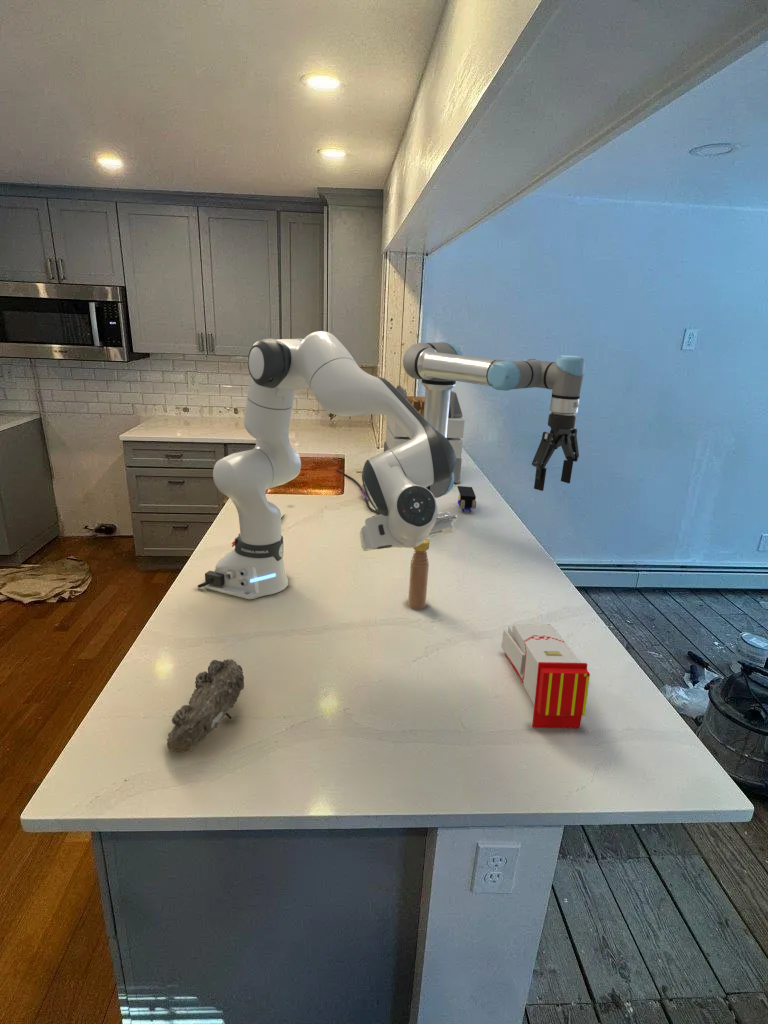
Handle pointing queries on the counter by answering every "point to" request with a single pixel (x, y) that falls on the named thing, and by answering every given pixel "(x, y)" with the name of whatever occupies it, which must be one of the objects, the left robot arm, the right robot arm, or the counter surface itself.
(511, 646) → the toy
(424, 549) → the cap
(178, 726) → the fossil
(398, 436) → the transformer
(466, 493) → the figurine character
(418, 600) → the bottle
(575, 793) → the counter surface
